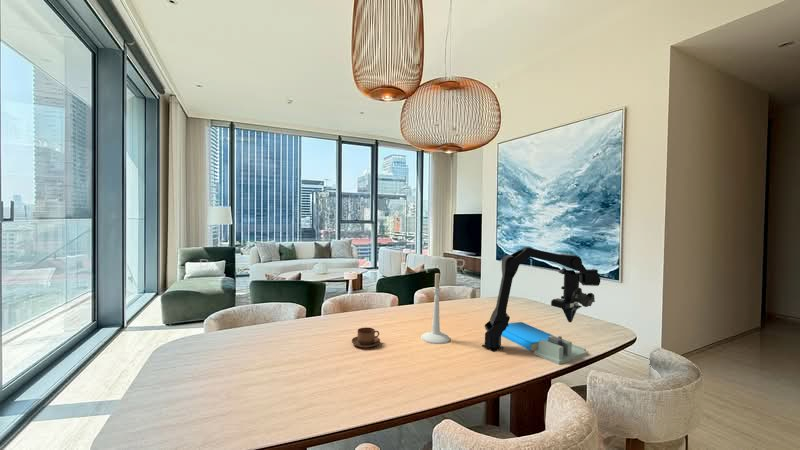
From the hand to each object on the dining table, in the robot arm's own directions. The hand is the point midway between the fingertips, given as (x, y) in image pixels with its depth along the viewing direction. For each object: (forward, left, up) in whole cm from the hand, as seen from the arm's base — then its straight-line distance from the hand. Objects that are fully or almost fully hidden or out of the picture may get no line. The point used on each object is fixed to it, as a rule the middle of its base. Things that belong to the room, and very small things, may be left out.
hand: (570, 322), depth 141 cm
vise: (-6, 0, -13) cm, 14 cm away
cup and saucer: (-71, +47, -13) cm, 86 cm away
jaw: (-7, 0, -11) cm, 13 cm away
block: (-10, 0, -11) cm, 15 cm away
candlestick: (-41, +38, -13) cm, 57 cm away
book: (-4, +19, -13) cm, 23 cm away
